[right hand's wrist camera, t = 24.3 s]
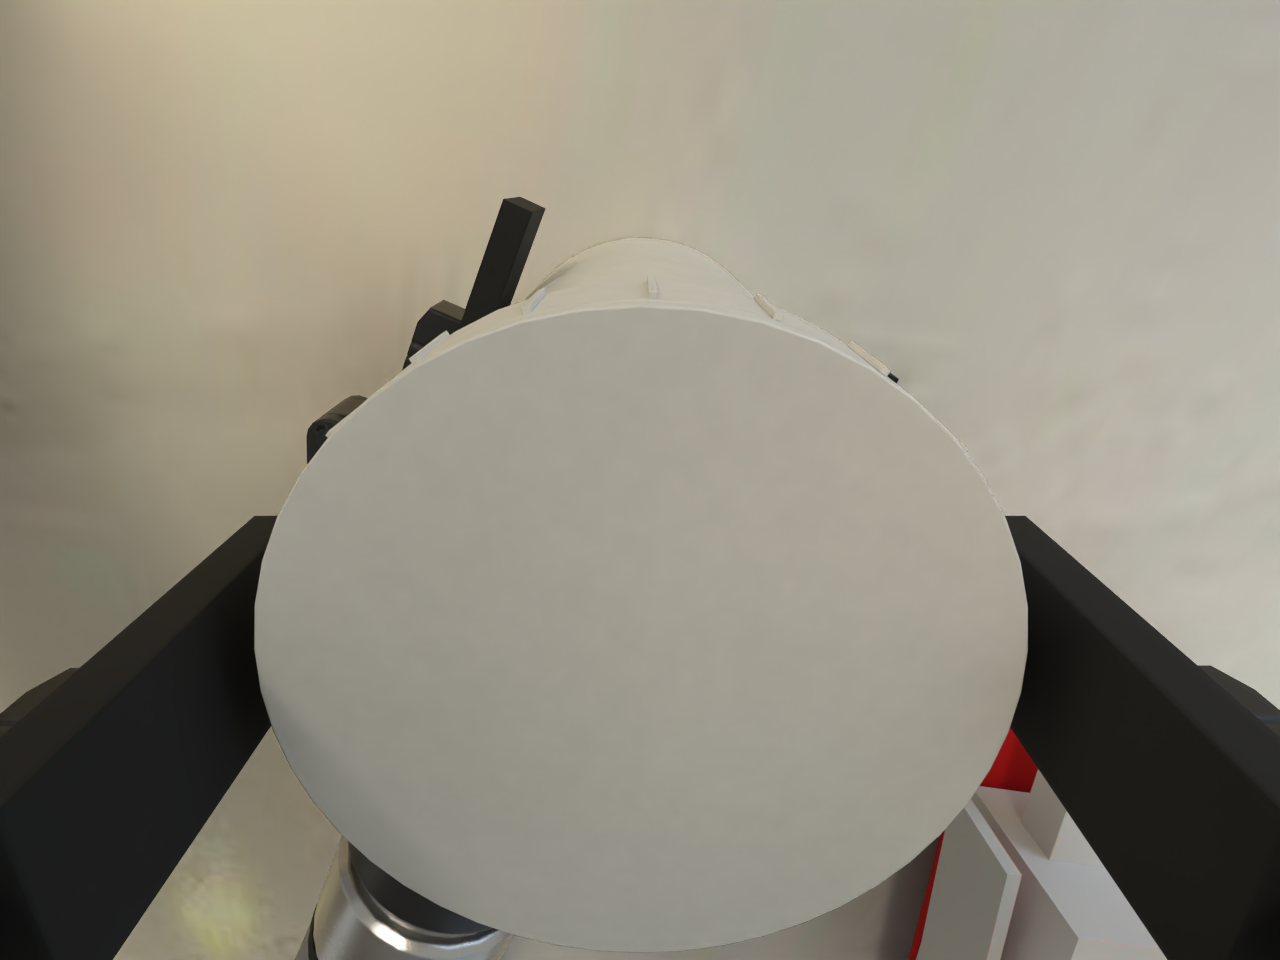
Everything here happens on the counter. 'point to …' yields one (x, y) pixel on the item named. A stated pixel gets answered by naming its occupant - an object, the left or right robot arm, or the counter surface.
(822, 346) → the lid
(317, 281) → the counter surface
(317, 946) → the left robot arm
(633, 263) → the jar
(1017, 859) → the toy
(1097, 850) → the right robot arm
